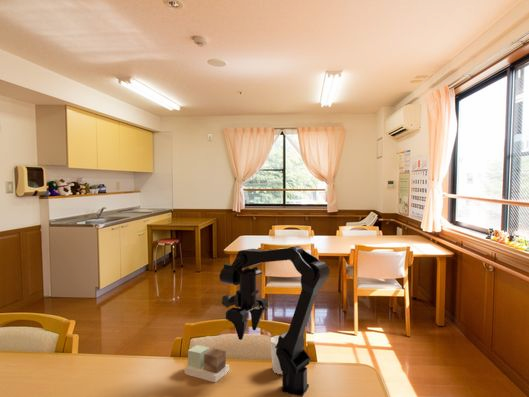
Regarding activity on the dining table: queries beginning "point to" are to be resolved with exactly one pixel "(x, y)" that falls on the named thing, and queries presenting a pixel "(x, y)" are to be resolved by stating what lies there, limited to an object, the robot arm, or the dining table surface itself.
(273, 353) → the white cup
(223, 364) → the walnut cube
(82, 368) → the dining table surface
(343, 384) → the dining table surface
